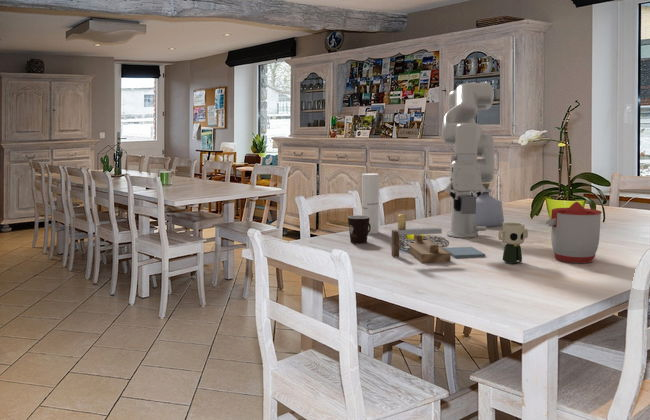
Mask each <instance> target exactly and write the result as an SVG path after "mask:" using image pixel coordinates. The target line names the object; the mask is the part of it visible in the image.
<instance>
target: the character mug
mask: <svg viewBox="0 0 650 420" xmlns="http://www.w3.org/2000/svg"><path fill="white" fill-rule="evenodd" d="M528 232H529V230H528V228H526V227H525V223H519V222H503V223H502V229H500V230H498V240H499V241H501V242H502V243H504V244H505V246H504V247H503V253H502V261H504V262H505V263H509V264H510V263H512V264H516V263H517V262H518V263H522V262H523V256H522V255H523V254H522V253H523V252H522V247H521V245H522V244H523V243H524V241H525V239H527V238H528V237H529V233H528Z"/></svg>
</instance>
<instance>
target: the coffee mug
mask: <svg viewBox="0 0 650 420" xmlns="http://www.w3.org/2000/svg"><path fill="white" fill-rule="evenodd" d="M369 219H370V217H369V216H362V214H360V215H357V214H356V215H349V216H347V222H348V223H347V224H348V231H349V241H350V243H351V244H355V245H356V244H357V245H358V244H359V245H361V244H366V243H368V235H369V234H368V233H369V232H370V229H371V226H370V224H369ZM368 227H369V230H368Z"/></svg>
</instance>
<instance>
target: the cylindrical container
mask: <svg viewBox="0 0 650 420" xmlns="http://www.w3.org/2000/svg"><path fill="white" fill-rule="evenodd" d="M379 191H380V174H379V173H372V172H371V173H362V174H361V215H362V216H369V217H370V219H369V224H370V226H371V229H370V232H369V233H368V235H371V234H372V235H374V234H379V232H380V231H379V228H380V227H379V217H380V216H379V214H380V213H379V212H380V211H379V210H380V205H379V203H380V200H379V198H380V195H379V194H380V193H379ZM368 230H369V227H368Z"/></svg>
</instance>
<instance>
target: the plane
mask: <svg viewBox="0 0 650 420" xmlns="http://www.w3.org/2000/svg"><path fill="white" fill-rule="evenodd" d="M413 240H414V241H416V243H407V244H408V246H409V247H410V249H409V250H408V251H406V252H407V253H408V254H409V255H410V256H412V257H413V258H414V259H416V260H417V261H419V263H421V264H433V263H437V264H438V263H450V262H451V259H452V256H451V253H449V252H448V251H446V250H445V249H443V248H444V247H441V246H440V245H439V244H437V243H435V242H433V241H431V240H430V239H423V234H413ZM422 240H423V241H422ZM391 257H393V258H399V257H400V235H399V234H398V229H391Z"/></svg>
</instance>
